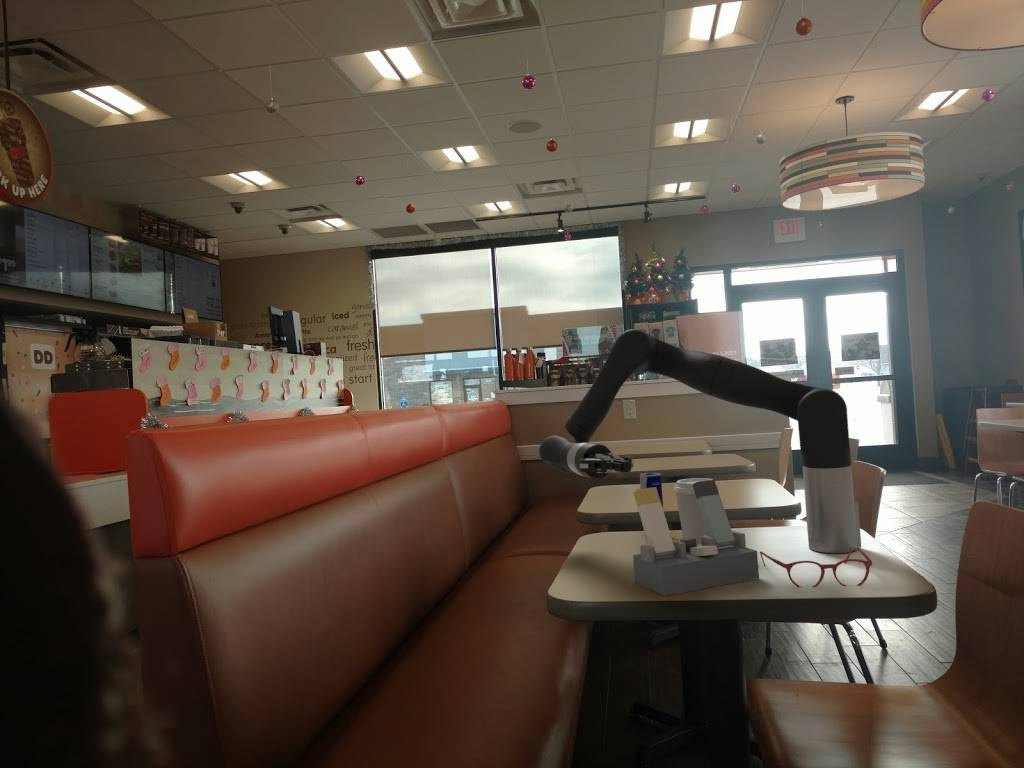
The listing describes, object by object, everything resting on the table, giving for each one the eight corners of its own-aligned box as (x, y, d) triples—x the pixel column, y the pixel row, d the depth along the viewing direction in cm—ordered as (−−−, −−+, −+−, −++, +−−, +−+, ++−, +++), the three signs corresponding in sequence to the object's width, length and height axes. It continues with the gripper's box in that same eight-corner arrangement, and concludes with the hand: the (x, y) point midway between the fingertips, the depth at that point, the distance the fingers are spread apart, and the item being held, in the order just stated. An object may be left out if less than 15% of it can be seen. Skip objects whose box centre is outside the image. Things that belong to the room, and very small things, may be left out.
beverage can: (661, 537, 161) (656, 474, 161) (641, 536, 163) (636, 474, 164) (667, 532, 165) (663, 471, 165) (647, 531, 168) (643, 471, 168)
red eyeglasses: (778, 591, 115) (775, 562, 115) (757, 567, 131) (755, 541, 131) (885, 588, 113) (883, 559, 113) (851, 564, 129) (849, 538, 129)
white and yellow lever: (673, 555, 123) (653, 489, 128) (678, 553, 122) (657, 486, 127) (650, 559, 122) (631, 492, 127) (655, 557, 120) (635, 489, 125)
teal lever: (732, 545, 127) (711, 482, 133) (738, 543, 126) (715, 479, 131) (711, 549, 126) (690, 485, 131) (716, 547, 124) (694, 482, 129)
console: (726, 565, 132) (723, 527, 132) (760, 577, 122) (757, 536, 123) (633, 582, 125) (630, 542, 125) (662, 596, 116) (659, 552, 116)
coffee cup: (721, 544, 150) (716, 476, 150) (724, 554, 141) (719, 483, 141) (677, 544, 152) (673, 478, 152) (677, 555, 143) (672, 484, 143)
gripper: (560, 445, 147) (595, 450, 130) (615, 440, 151) (655, 445, 135) (562, 479, 147) (598, 489, 130) (616, 474, 151) (657, 482, 135)
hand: (627, 467), depth 133 cm, fingers closed
